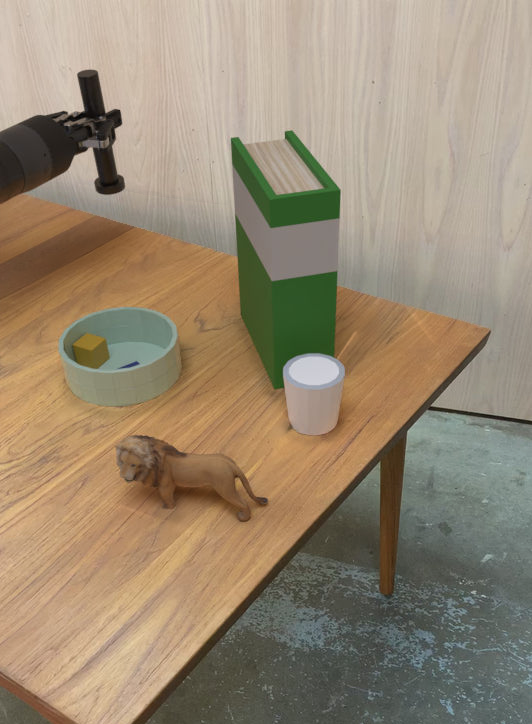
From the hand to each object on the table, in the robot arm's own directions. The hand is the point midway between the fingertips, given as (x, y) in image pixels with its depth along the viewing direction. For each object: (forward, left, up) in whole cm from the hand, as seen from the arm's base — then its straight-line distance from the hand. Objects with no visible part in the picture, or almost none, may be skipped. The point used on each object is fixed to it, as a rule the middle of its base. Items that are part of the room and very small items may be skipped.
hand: (109, 114), depth 110 cm
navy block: (+22, -34, -19) cm, 45 cm away
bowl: (+19, -31, -19) cm, 41 cm away
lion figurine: (+38, -48, -20) cm, 64 cm away
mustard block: (+14, -30, -19) cm, 38 cm away
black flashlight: (0, -2, -10) cm, 10 cm away
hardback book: (+35, -18, -20) cm, 44 cm away
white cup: (+44, -30, -20) cm, 56 cm away
